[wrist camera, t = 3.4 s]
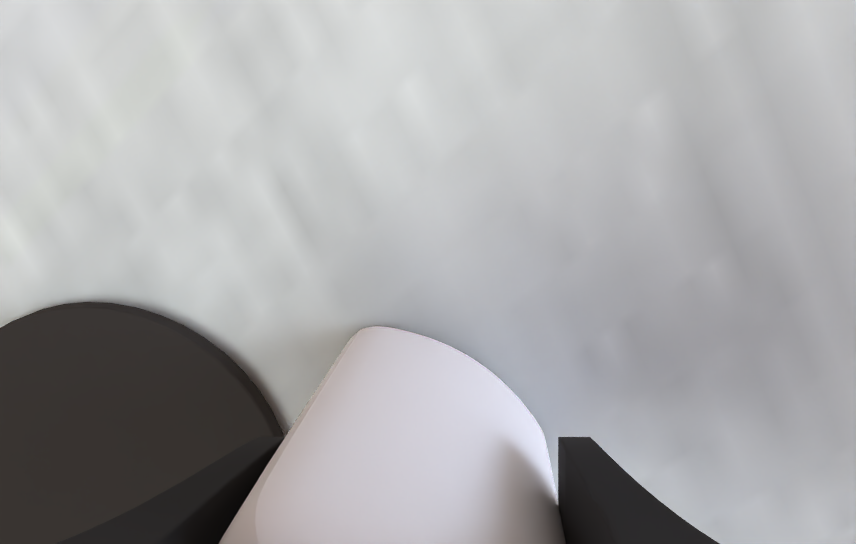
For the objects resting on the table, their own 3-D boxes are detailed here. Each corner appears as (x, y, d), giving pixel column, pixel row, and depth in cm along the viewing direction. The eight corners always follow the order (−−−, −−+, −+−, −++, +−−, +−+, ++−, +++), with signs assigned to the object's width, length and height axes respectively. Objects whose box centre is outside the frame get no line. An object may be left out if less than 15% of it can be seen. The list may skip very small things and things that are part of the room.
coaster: (310, 629, 17) (305, 644, 17) (-7, 618, 18) (-21, 631, 18) (274, 297, 15) (266, 302, 14) (-85, 305, 16) (-103, 310, 15)
